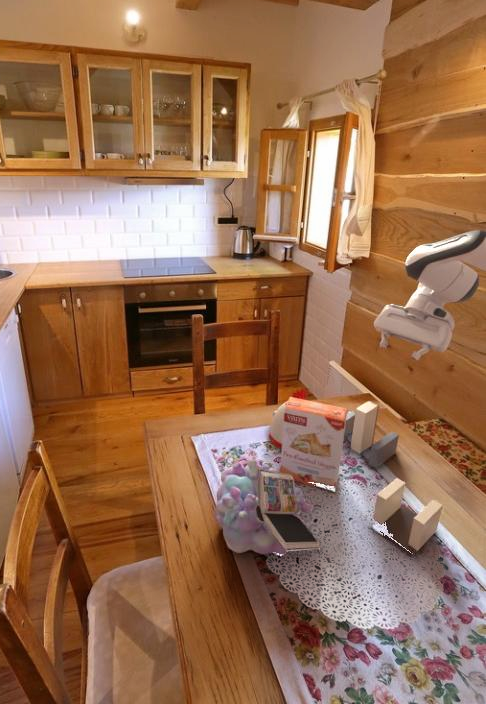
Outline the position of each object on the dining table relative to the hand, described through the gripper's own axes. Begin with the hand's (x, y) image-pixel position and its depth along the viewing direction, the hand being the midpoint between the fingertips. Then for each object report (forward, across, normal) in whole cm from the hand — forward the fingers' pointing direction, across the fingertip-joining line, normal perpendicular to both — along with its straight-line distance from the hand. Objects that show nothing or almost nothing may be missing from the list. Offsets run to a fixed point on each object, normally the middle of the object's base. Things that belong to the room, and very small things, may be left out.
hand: (397, 352), depth 112 cm
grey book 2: (+27, +7, +10) cm, 29 cm away
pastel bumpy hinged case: (+56, +3, -20) cm, 60 cm away
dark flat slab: (+39, +22, -3) cm, 45 cm away
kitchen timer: (+35, -15, +2) cm, 38 cm away
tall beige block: (+27, 0, +10) cm, 28 cm away
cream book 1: (+38, +18, -4) cm, 42 cm away
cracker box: (+42, -1, -6) cm, 42 cm away
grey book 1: (+27, -6, +10) cm, 29 cm away
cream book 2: (+38, +26, -4) cm, 46 cm away
